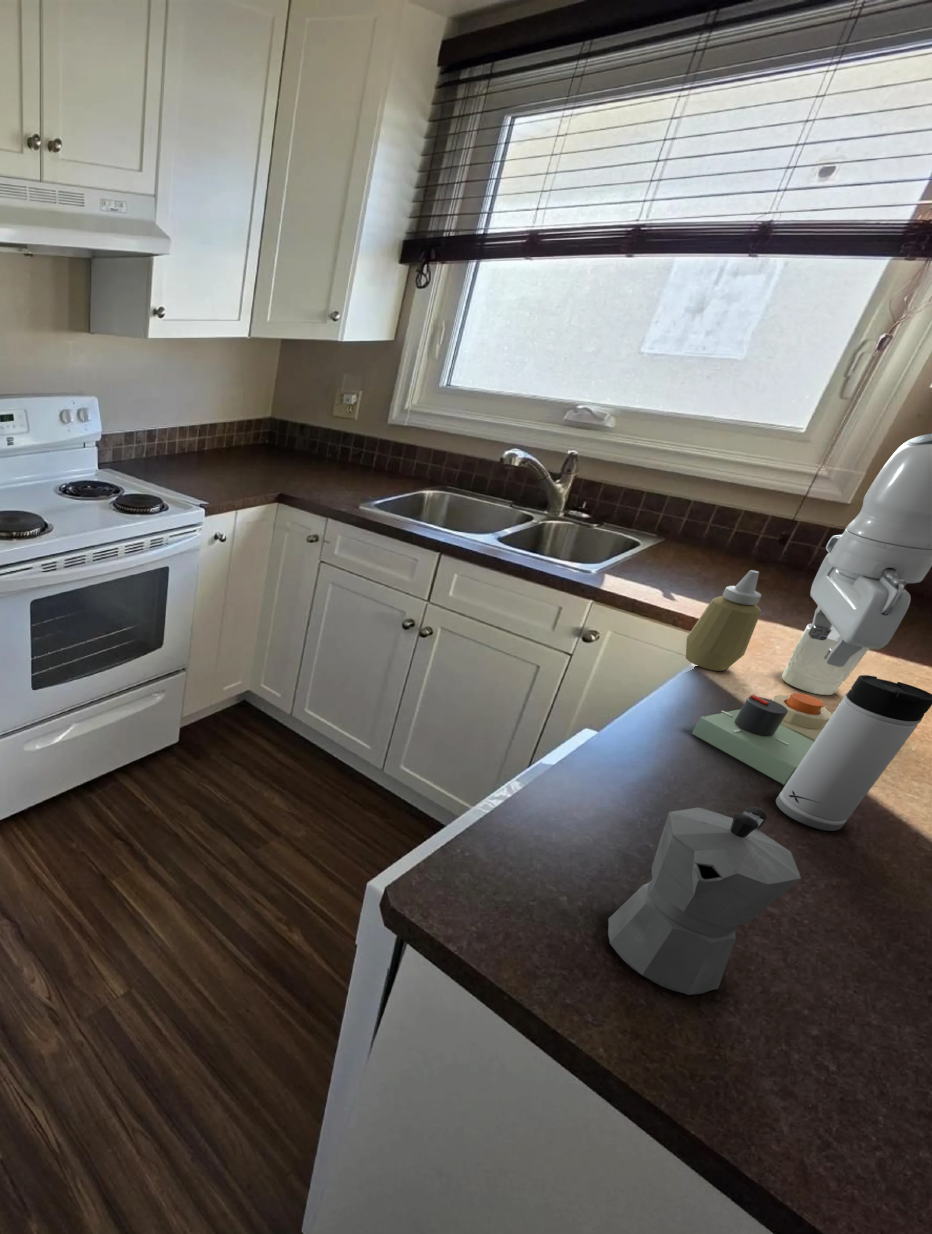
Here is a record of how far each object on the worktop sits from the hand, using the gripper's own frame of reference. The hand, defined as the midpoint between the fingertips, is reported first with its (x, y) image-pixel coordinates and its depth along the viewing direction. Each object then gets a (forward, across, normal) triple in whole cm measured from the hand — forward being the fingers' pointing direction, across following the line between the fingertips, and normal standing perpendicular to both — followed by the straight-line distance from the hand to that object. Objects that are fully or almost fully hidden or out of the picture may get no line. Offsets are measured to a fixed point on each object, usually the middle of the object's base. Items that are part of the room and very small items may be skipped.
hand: (823, 650), depth 95 cm
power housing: (+15, +4, -4) cm, 16 cm away
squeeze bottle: (+15, +23, +6) cm, 28 cm away
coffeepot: (+15, -56, +17) cm, 61 cm away
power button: (+11, +5, -3) cm, 13 cm away
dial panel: (+15, -6, +2) cm, 16 cm away
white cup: (+15, +25, -8) cm, 30 cm away
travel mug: (+15, -20, 0) cm, 25 cm away
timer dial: (+12, -5, +4) cm, 14 cm away
